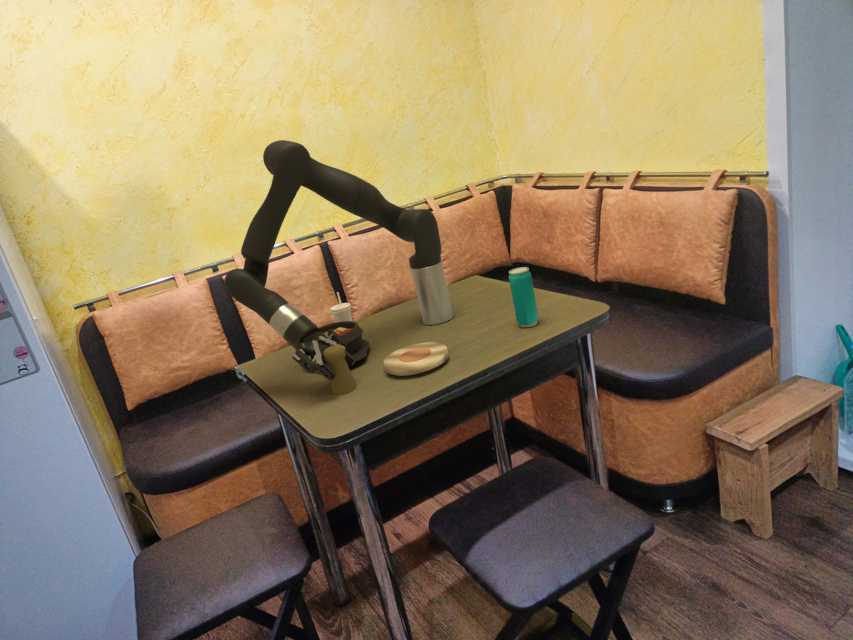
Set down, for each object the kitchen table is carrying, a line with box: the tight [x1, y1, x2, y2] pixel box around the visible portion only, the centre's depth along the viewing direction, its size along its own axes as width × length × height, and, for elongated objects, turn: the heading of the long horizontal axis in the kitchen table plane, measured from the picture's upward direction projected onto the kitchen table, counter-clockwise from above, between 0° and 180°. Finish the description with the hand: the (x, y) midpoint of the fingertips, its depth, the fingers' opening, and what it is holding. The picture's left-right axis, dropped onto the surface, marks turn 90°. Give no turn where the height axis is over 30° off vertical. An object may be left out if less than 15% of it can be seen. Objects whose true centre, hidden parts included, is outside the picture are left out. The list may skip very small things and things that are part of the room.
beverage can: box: [508, 266, 539, 329], centre depth 155 cm, size 6×6×15 cm
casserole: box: [306, 320, 371, 366], centre depth 164 cm, size 25×19×8 cm
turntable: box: [383, 341, 449, 376], centre depth 148 cm, size 16×16×3 cm
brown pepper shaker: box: [323, 345, 357, 396], centre depth 142 cm, size 6×6×11 cm
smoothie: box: [330, 291, 353, 323], centre depth 181 cm, size 6×6×14 cm
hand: (343, 370), depth 141 cm, fingers open, 7 cm apart
